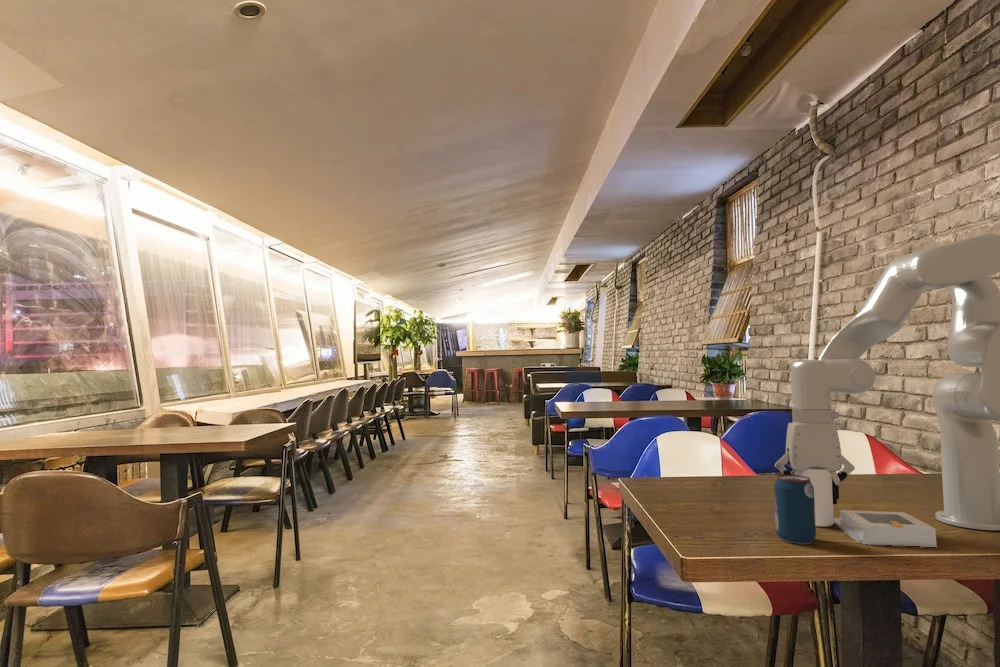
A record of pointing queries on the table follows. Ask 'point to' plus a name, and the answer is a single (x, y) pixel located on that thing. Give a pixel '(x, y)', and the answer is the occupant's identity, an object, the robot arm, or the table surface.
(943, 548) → the table surface
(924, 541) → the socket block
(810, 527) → the soda can
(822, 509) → the can
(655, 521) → the table surface
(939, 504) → the table surface
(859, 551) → the table surface
